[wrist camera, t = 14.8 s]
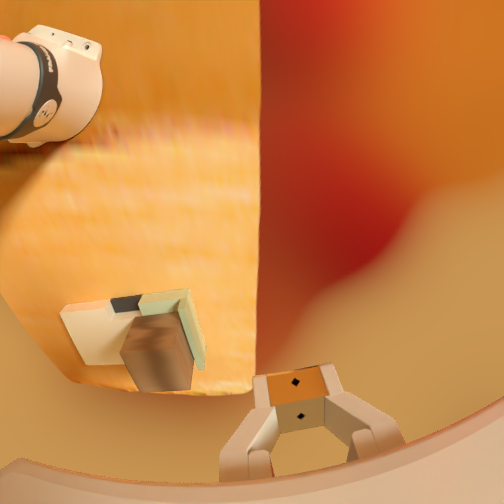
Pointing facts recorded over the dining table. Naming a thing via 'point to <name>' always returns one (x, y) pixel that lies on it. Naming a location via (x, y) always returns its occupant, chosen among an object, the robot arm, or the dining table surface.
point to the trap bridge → (127, 324)
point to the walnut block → (158, 353)
